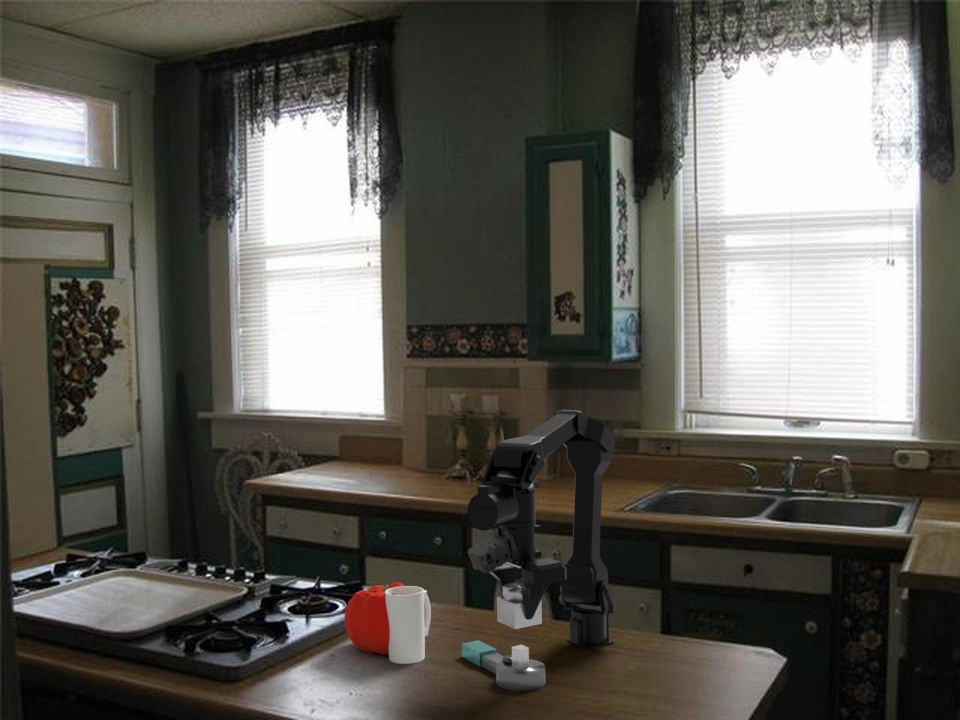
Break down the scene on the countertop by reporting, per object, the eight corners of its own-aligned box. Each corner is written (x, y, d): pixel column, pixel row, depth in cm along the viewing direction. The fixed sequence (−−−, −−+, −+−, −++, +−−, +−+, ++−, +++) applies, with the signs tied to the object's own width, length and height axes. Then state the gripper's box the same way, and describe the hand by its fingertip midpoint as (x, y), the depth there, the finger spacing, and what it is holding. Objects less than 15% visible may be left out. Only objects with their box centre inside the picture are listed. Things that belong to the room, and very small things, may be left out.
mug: (408, 667, 171) (405, 597, 171) (379, 661, 176) (376, 592, 175) (445, 652, 179) (443, 584, 179) (417, 646, 184) (415, 580, 183)
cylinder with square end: (523, 615, 167) (523, 580, 167) (541, 623, 163) (541, 586, 163) (497, 621, 165) (496, 584, 164) (515, 629, 160) (514, 591, 160)
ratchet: (450, 659, 176) (449, 627, 175) (489, 651, 180) (488, 619, 180) (513, 694, 158) (513, 658, 158) (555, 684, 163) (554, 649, 162)
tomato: (389, 666, 172) (387, 597, 172) (329, 653, 180) (327, 588, 180) (438, 646, 182) (436, 581, 182) (379, 634, 191) (377, 573, 191)
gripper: (445, 516, 167) (447, 610, 167) (507, 535, 151) (509, 638, 152) (502, 508, 173) (504, 599, 173) (567, 526, 157) (569, 626, 157)
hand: (519, 615), depth 164 cm, fingers closed on cylinder with square end, 5 cm apart
